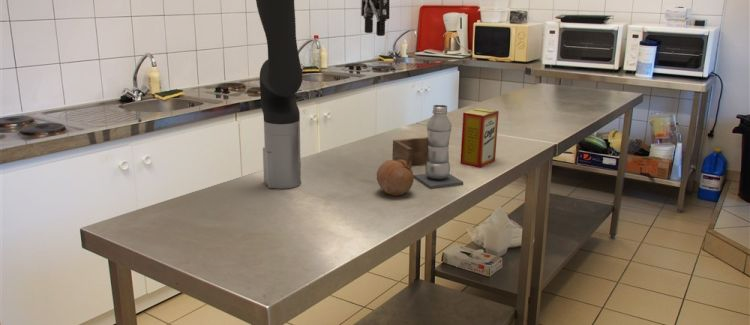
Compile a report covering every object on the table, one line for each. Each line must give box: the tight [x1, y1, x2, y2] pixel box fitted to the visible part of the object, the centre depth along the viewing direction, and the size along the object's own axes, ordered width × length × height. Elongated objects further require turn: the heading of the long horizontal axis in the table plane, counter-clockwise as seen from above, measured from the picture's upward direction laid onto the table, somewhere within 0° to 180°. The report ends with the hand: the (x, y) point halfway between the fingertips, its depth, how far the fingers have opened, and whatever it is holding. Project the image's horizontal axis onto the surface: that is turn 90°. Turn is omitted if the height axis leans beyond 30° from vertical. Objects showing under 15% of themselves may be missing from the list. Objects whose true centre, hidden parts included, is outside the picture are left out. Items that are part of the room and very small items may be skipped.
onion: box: [376, 159, 415, 197], centre depth 158 cm, size 10×9×10 cm
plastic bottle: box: [425, 104, 452, 179], centre depth 166 cm, size 6×7×20 cm
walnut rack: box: [391, 136, 428, 169], centre depth 178 cm, size 12×10×8 cm
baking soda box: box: [459, 107, 500, 169], centre depth 185 cm, size 10×6×16 cm
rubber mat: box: [413, 173, 464, 189], centre depth 169 cm, size 10×10×1 cm
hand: (374, 34), depth 169 cm, fingers open, 8 cm apart
